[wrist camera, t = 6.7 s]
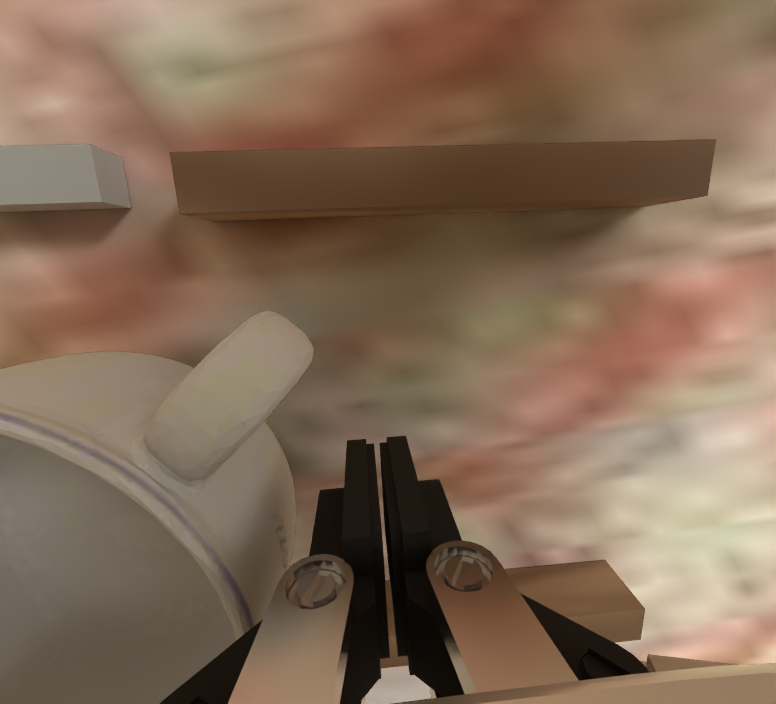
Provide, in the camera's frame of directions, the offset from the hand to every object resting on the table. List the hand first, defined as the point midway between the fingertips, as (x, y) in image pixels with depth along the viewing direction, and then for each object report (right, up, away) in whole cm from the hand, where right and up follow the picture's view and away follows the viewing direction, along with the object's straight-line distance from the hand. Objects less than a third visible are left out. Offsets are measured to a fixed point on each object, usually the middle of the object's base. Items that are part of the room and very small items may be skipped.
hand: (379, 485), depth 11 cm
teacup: (-7, +1, +4) cm, 8 cm away
